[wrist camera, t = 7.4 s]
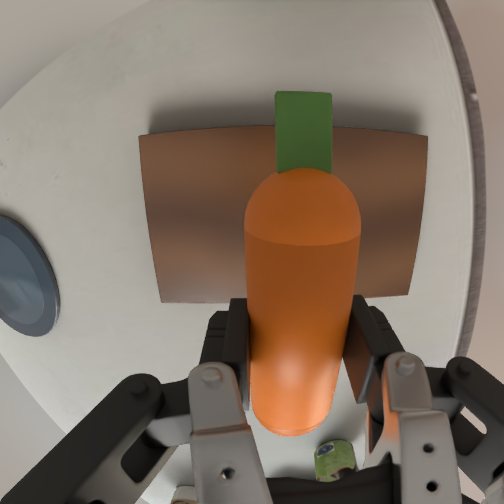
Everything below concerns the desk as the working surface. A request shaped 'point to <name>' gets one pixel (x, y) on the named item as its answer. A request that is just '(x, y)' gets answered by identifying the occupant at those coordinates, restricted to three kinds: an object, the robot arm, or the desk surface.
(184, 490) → the coffee cup
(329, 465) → the beverage can
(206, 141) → the cutting board
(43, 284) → the slate plate
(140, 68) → the desk surface
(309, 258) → the carrot
